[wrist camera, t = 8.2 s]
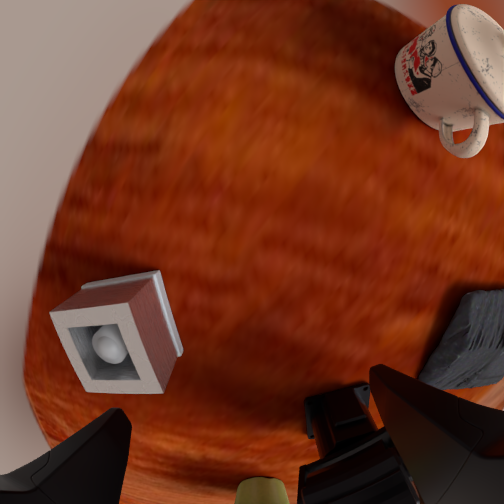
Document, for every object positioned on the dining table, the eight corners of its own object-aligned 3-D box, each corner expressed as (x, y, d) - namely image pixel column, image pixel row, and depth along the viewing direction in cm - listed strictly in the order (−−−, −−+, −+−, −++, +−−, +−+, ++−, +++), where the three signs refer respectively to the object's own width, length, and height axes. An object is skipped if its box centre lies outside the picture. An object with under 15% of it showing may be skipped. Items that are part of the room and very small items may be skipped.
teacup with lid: (395, 27, 16) (465, -34, 4) (467, 76, 16) (547, 49, 5) (375, 136, 18) (485, 102, 7) (456, 181, 19) (560, 190, 8)
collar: (178, 353, 21) (163, 393, 16) (110, 357, 21) (86, 391, 16) (154, 275, 19) (127, 302, 14) (83, 287, 19) (49, 312, 14)
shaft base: (183, 349, 22) (168, 392, 16) (113, 354, 22) (87, 391, 16) (159, 270, 20) (131, 297, 15) (86, 282, 20) (49, 308, 15)
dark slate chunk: (458, 261, 21) (490, 275, 16) (537, 288, 22) (558, 298, 18) (401, 393, 24) (420, 419, 20) (497, 380, 26) (513, 395, 21)
